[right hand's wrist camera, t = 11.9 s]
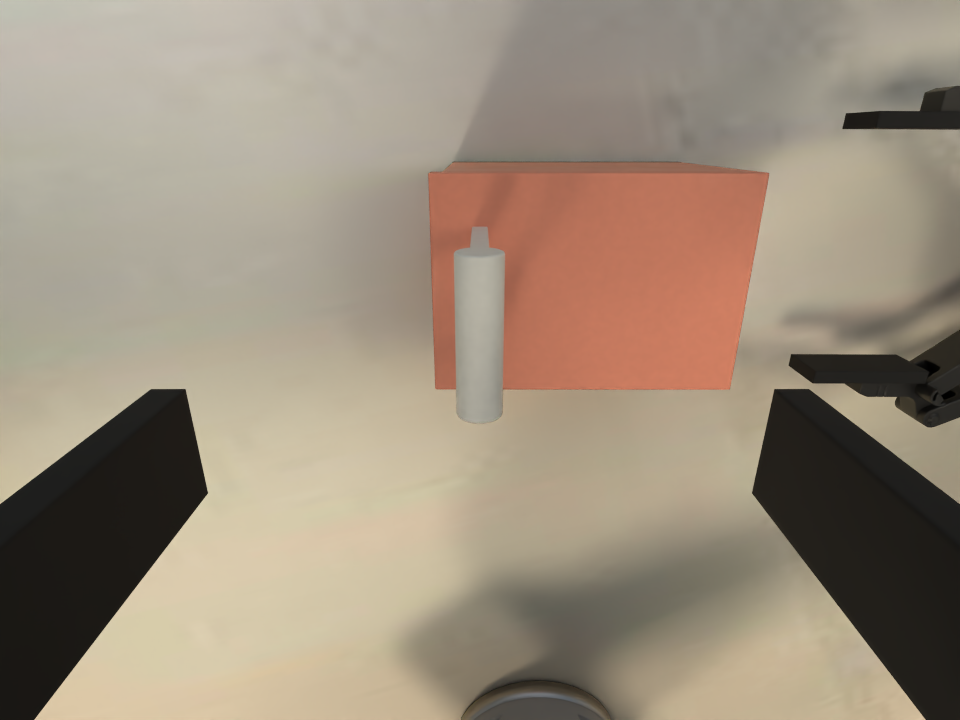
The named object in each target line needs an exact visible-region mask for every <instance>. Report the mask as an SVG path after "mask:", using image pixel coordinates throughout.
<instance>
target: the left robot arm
mask: <svg viewBox="0 0 960 720" xmlns="http://www.w3.org/2000/svg"><path fill="white" fill-rule="evenodd" d="M843 129H960V86H953V87H944V88H936V89H933V90H931V91H928V92H925V94H924V98H923V101H922V105H921V109H920V111H875V112H861V113H846V116H845V120H844V124H843ZM789 366H790V367H791V368H793V369H794V370H795V371H797V372H798V373H800V374H801V375H802V376H804V377H805V378H806V379H808V380H809V381H810V382H812V383H845V384H846V385H847V386H849V387H850V388H852V389H853V390H855V391H856V392H858V393H859V394H862V395H864V396H867V397H876V396H877V397H883V396H884V397H897V399H896V401H895V405H896V407H897V408H898V409H900V410H902V411H903V412H905V413H906V414H908V415H909V416H911V417H912V418H914V419H915V420H917V421H918V422H920V423H922V424H923V425H925V426H927V427H935V426H938V425H941V424H943V423H946V422H948V421H951V420H954V419H956V418H959V417H960V330H959V331H957V332H956V333H954V334H952V335H951V336H949V337H948V338H946V339H945V340H943V341H941V342H940V343H938V344H937V345H935V346H933V347H932V348H930V349H929V350H927V351H925V352H924V353H922V354H921V355H919V356H917V357H916V358H914V359H913V360H911V361H910V362H909V361H907V360H905V359H904V358H902V357H900V356H898V355H839V354H791V357H790V362H789ZM461 720H611V719H610V716H609V714H608V712H607V711H606V709H605V708H604V707H603V705H602V704H601V703H600V702H599V701H597V700H596V699H595V698H594V697H592V696H591V695H589V694H588V693H586V692H584V691H582V690H580V689H578V688H575V687H573V686H570V685H566V684H562V683H557V682H550V681H526V682H519V683H514V684H510V685H506V686H503V687H500V688H497V689H495V690H493V691H491V692H489V693H487V694H485V695H484V696H482V697H480V698H479V699H478V700H476V701H475V702H474V703H473V704H472V705H471V706H470V707H469V708H468V709H467V710H466V712H465V713H464V715H463V717H462V719H461Z"/></svg>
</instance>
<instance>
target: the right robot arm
mask: <svg viewBox="0 0 960 720" xmlns="http://www.w3.org/2000/svg"><path fill="white" fill-rule="evenodd" d="M207 494H208V491H207V487H206V482H205V477H204V473H203V468H202V463H201V459H200V454H199V450H198V445H197V440H196V436H195V431H194V426H193V422H192V417H191V413H190V408H189V403H188V399H187V394H186V389H151V390H149V391H148V392H147V393H145V394H144V395H143V396H142V397H140V398H139V399H138V400H136V401H135V402H134V403H132V404H131V405H130V406H128V407H127V408H126V409H124V410H123V411H122V412H121V413H119V414H118V415H117V416H115V417H114V418H113V419H111V420H110V421H109V422H107V423H106V424H105V425H104V426H102V427H101V428H100V429H98V430H97V431H96V432H94V433H93V434H92V435H90V436H89V437H88V438H86V439H85V440H84V441H83V442H81V443H80V444H79V445H77V446H76V447H75V448H73V449H72V450H71V451H69V452H68V453H67V454H65V455H64V456H63V457H62V458H60V459H59V460H58V461H56V462H55V463H54V464H52V465H51V466H50V467H48V468H47V469H46V470H44V471H43V472H42V473H41V474H39V475H38V476H37V477H35V478H34V479H33V480H31V481H30V482H29V483H27V484H26V485H25V486H23V487H22V488H21V489H20V490H18V491H17V492H16V493H14V494H13V495H12V496H10V497H9V498H8V499H6V500H5V501H4V502H2V503H1V504H0V720H34V719H35V718H36V717H37V715H38V714H39V713H40V711H41V710H42V709H43V708H44V706H45V705H46V704H47V702H48V701H49V700H50V698H51V697H52V696H53V694H54V693H55V692H56V691H57V689H58V688H59V687H60V685H61V684H62V683H63V681H64V680H65V679H66V678H67V676H68V675H69V674H70V672H71V671H72V670H73V668H74V667H75V666H76V664H77V663H78V662H79V661H80V659H81V658H82V657H83V655H84V654H85V653H86V651H87V650H88V649H89V648H90V646H91V645H92V644H93V642H94V641H95V640H96V638H97V637H98V636H99V635H100V633H101V632H102V631H103V629H104V628H105V627H106V625H107V624H108V623H109V621H110V620H111V619H112V618H113V616H114V615H115V614H116V612H117V611H118V610H119V608H120V607H121V606H122V605H123V603H124V602H125V601H126V599H127V598H128V597H129V595H130V594H131V593H132V591H133V590H134V589H135V588H136V586H137V585H138V584H139V582H140V581H141V580H142V578H143V577H144V576H145V575H146V573H147V572H148V571H149V569H150V568H151V567H152V565H153V564H154V563H155V562H156V560H157V559H158V558H159V556H160V555H161V554H162V552H163V551H164V550H165V548H166V547H167V546H168V545H169V543H170V542H171V541H172V539H173V538H174V537H175V535H176V534H177V533H178V532H179V530H180V529H181V528H182V526H183V525H184V524H185V522H186V521H187V520H188V519H189V517H190V516H191V515H192V513H193V512H194V511H195V509H196V508H197V507H198V505H199V504H200V503H201V502H202V500H203V499H204V498H205V496H206V495H207ZM752 494H753V495H754V496H755V498H756V499H757V500H758V502H759V503H760V504H761V505H762V507H763V508H764V509H765V511H766V512H767V513H768V515H769V516H770V517H771V519H772V520H773V521H774V522H775V524H776V525H777V526H778V528H779V529H780V530H781V532H782V533H783V534H784V535H785V537H786V538H787V539H788V541H789V542H790V543H791V545H792V546H793V547H794V548H795V550H796V551H797V552H798V554H799V555H800V556H801V558H802V559H803V560H804V562H805V563H806V564H807V565H808V567H809V568H810V569H811V571H812V572H813V573H814V575H815V576H816V577H817V578H818V580H819V581H820V582H821V584H822V585H823V586H824V588H825V589H826V590H827V592H828V593H829V594H830V595H831V597H832V598H833V599H834V601H835V602H836V603H837V605H838V606H839V607H840V608H841V610H842V611H843V612H844V614H845V615H846V616H847V618H848V619H849V620H850V621H851V623H852V624H853V625H854V627H855V628H856V629H857V631H858V632H859V633H860V635H861V636H862V637H863V638H864V640H865V641H866V642H867V644H868V645H869V646H870V648H871V649H872V650H873V651H874V653H875V654H876V655H877V657H878V658H879V659H880V661H881V662H882V663H883V664H884V666H885V667H886V668H887V670H888V671H889V672H890V674H891V675H892V676H893V678H894V679H895V680H896V681H897V683H898V684H899V685H900V687H901V688H902V689H903V691H904V692H905V693H906V694H907V696H908V697H909V698H910V700H911V701H912V702H913V704H914V705H915V706H916V708H917V709H918V710H919V711H920V713H921V714H922V715H923V717H924V718H925V719H926V720H960V504H959V503H958V502H956V501H955V500H954V499H952V498H951V497H950V496H948V495H947V494H946V493H944V492H943V491H942V490H940V489H939V488H938V487H937V486H935V485H934V484H933V483H931V482H930V481H929V480H927V479H926V478H925V477H923V476H922V475H921V474H919V473H918V472H917V471H916V470H914V469H913V468H912V467H910V466H909V465H908V464H906V463H905V462H904V461H902V460H901V459H900V458H898V457H897V456H896V455H895V454H893V453H892V452H891V451H889V450H888V449H887V448H885V447H884V446H883V445H881V444H880V443H879V442H877V441H876V440H875V439H874V438H872V437H871V436H870V435H868V434H867V433H866V432H864V431H863V430H862V429H860V428H859V427H858V426H856V425H855V424H854V423H853V422H851V421H850V420H849V419H847V418H846V417H845V416H843V415H842V414H841V413H839V412H838V411H837V410H836V409H834V408H833V407H832V406H830V405H829V404H828V403H826V402H825V401H824V400H822V399H821V398H820V397H818V396H817V395H816V394H815V393H813V392H812V391H811V390H809V389H774V394H773V399H772V403H771V408H770V413H769V417H768V422H767V426H766V431H765V436H764V440H763V445H762V450H761V454H760V459H759V463H758V468H757V473H756V477H755V482H754V486H753V491H752Z"/></svg>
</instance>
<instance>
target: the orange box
mask: <svg viewBox="0 0 960 720" xmlns="http://www.w3.org/2000/svg"><path fill="white" fill-rule="evenodd" d="M768 178H769V173H765V172H430V173H429V174H428V179H429V210H430V240H431V271H432V301H433V332H434V362H435V388H436V389H456V409H457V415H458V417H459V418H460V419H462V420H464V421H466V422H470V423H478V424H481V423H489V422H493V421H495V420H497V419H499V418H500V417H501V415H502V410H503V389H730V385H731V380H732V374H733V369H734V363H735V358H736V352H737V347H738V341H739V336H740V331H741V325H742V320H743V314H744V309H745V303H746V298H747V292H748V287H749V281H750V276H751V271H752V265H753V260H754V254H755V249H756V243H757V238H758V232H759V227H760V222H761V216H762V211H763V205H764V200H765V194H766V189H767V183H768Z"/></svg>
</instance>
